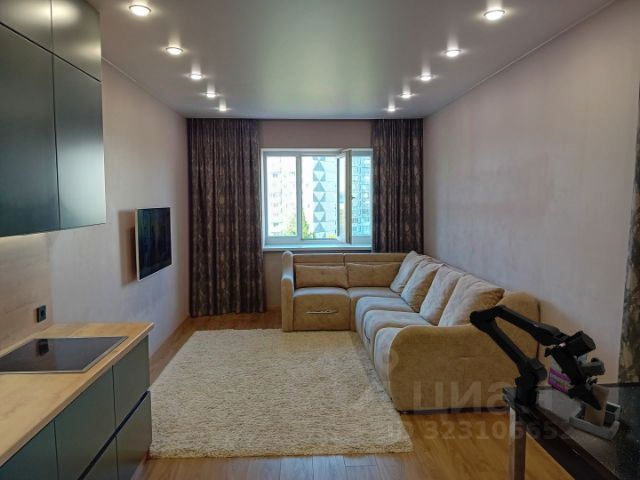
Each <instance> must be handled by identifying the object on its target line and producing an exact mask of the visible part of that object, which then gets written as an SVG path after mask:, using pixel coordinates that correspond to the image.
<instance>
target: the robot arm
mask: <svg viewBox="0 0 640 480" xmlns="http://www.w3.org/2000/svg"><path fill="white" fill-rule="evenodd" d="M497 318H500V319H501V320H503V321H505V322H507V323H509V324H511V325H513V326H515V327H516V328H518V329H520V330H522V331H524V332H525V333H526V332H527V333H528V334H529V335H530V336H531V338H533V340H534V341H536V342H537V343H538V344H539V345H541V346H543V347H546V348H544V353H543V357H544V358H547V357H553V359H554V360H555V361H556V363H557V364H558V365H559V367H560V368H561V369H562V371H561V373H562V374H565V375H566V376H567V377H568V379H569V380H570V383H569V384H570V385H571V386H570V387H569V389H568V391H567V394H568V397H569V399H571V400H573V399H578V400H580V401H581V402H582V401H584V402H585V403H587V404H589V405H590V406H592V407H593V408H595V409H597V410H598V411H599V410H601V409H602V408H601V406H600V405H599V403H598V401H597V399H596V398H595V396H594V394H593V386H592V387H590V386H591V385H592V384H593V383H594V384H597V385H598V380H599V378H598V376H603V375H605V373H607V371H606V370H607V369H606V368H605V363H604V362H603V360H600V359H599V357H598V356H594V357H592V358H591V360H590V361H588V362H586V363H583V362H582V361H581V360H577V359H576V358H575V356H576V357H581V356H583V355H585V354H587V353H588V354H589V353H591V352H594V351H595V350H596V349H597V345H596V343H595V341H594V340H593V338H592V337H590V336H589V335H588V334H587V333H585V332H584V331H583V330H578V331H577V332H575V333H574V334H572V335H569V334H567V333H565V332H562V331H561V330H560V329H559V328H558V327H557V326H553V325H550V324H547V323H543V322H538V321H535V320H533V319H531V318H529V317H527V316H525V315H523V314H522V313H520V312H517V311H516V310H514V309H511V308H510V307H508V306H506V305H505V304H498V305H497V304H496V305H494V306H493V307H491V308H488V309H487V308H481V309H476V310H473V311H471V312H470V314H469V321H468V322H469V323H470V324H471V325H472V326H474V327H475V328H476V329H477V330H478V331H480V332H483V333H485V334H487V336H488V337H489V338H490V339H491V340H492V341H493V342H494V343H495V344H496V345H497V346H498V348H499V349H501V350H502V351H503V352H504V354H506V356H507V357H508V358H509V359H510V360H511V361H512V362H513V363H514V365H515V366H516V369H517V372H518V374H519V376H517V377H515V378H514V383H515V386H516V389H515V395H514V396H515V397H514V398H513V399H512V401H513V402H516V403H519V404H521V405H523V406H526V407H528V408H533V407H534V406H536V405H537V404H539V398H540V390H539V387H540V386H539V385H541V383H543V382H544V381H546V380H547V379H548V377H549V373H548V370H547V369H546V365H545V364H544V363H543V362H541V361H540V360H539V358H538V357H536V356H535V357H532V358H531V357H529V356H527V354H525V353H524V352H523V350H521V349H520V347H519V346H517V344H516V343H515V342H514V341H513V340H512V339H511V338H510V337H509V336H508V335H507V333H505V332H504V331H503V330H502V329H501V328H500V327H499V325H498V322H497V320H496V319H497ZM562 343H565V345H563V346H560V344H562ZM553 345H556V346H554V347H553ZM551 346H552V347H551ZM588 354H587V355H588ZM593 377H596V378H593ZM567 394H566V395H567Z"/></svg>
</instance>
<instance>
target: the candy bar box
mask: <svg viewBox="0 0 640 480" xmlns="http://www.w3.org/2000/svg"><path fill="white" fill-rule="evenodd" d="M563 345H565V343H562V344H560V346H563ZM554 346H556V345H552V347H554ZM588 354H589V353H587V354H585V355H583V356H581V357H576V356H575V358H576V359H577V360H581V361H582V362H583V363H587V357H588ZM550 357H551V359H550V364H549V373H548V377H547V379H548V380H547V384H548V385H549V386H551V387H553V388H555V389H556V390H558V391H560V392H562V393H564V394H566V395H568V394H567V391H568V389H569V387H570V386H571V385H570V384H569V383H570V380H569V379H568V377H567V376H566V375H565V374H562V373H561V371H562V369H561V368H560V367H559V365H558V364H557V363H556V361H555V360H554V359H553V357H552V356H550Z"/></svg>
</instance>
